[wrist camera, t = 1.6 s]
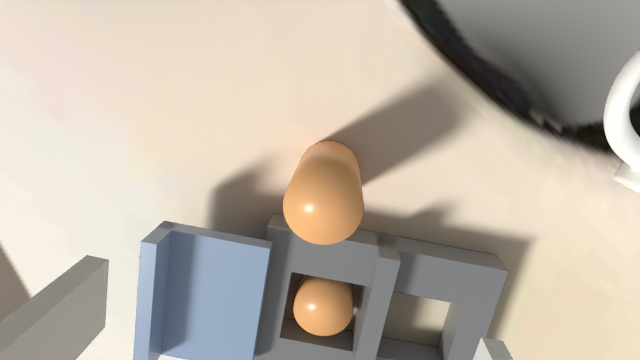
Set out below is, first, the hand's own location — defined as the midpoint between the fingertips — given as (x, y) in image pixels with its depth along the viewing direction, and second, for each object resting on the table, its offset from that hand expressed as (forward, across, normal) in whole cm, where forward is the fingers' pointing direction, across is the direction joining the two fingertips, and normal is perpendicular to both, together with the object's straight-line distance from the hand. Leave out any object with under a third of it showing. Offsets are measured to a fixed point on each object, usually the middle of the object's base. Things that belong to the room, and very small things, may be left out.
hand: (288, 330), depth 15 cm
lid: (+14, -6, -9) cm, 18 cm away
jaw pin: (+17, 0, +1) cm, 17 cm away
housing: (+17, +6, -9) cm, 20 cm away
